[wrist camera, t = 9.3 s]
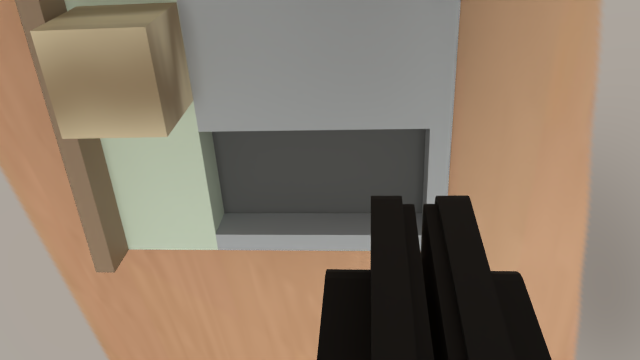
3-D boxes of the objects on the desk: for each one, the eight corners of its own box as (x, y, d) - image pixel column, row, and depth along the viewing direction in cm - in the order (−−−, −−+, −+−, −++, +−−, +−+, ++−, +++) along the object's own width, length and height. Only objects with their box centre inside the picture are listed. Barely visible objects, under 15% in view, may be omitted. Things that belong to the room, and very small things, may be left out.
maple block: (76, 6, 26) (30, 31, 22) (176, 2, 25) (145, 26, 22) (101, 102, 28) (62, 139, 24) (193, 100, 27) (167, 137, 24)
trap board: (4, -264, 23) (-71, -287, 19) (470, -301, 21) (492, -334, 17) (127, 224, 34) (96, 272, 30) (439, 224, 33) (448, 275, 29)
